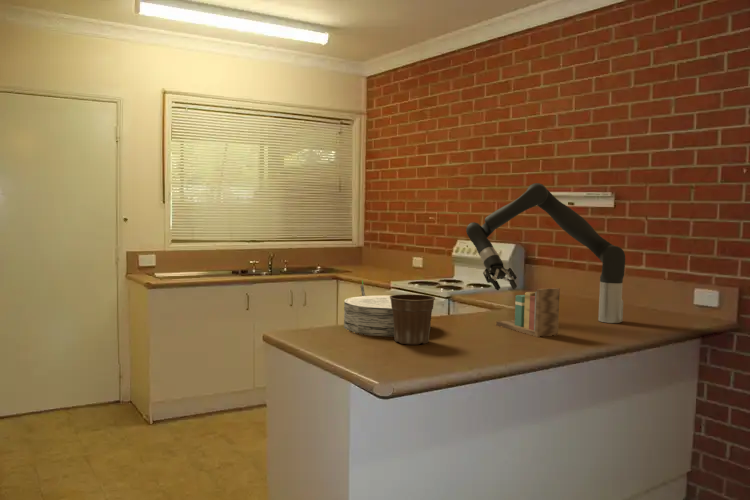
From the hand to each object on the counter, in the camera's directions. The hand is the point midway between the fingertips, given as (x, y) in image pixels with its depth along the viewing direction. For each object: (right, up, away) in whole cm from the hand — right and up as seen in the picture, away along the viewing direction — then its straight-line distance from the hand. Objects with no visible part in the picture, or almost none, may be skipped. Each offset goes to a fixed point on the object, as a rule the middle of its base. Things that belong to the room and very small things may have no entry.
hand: (507, 288), depth 262 cm
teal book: (+4, -14, -13) cm, 19 cm away
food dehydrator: (-52, -15, -14) cm, 56 cm away
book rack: (+4, -15, -14) cm, 21 cm away
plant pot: (-43, -16, -41) cm, 61 cm away
